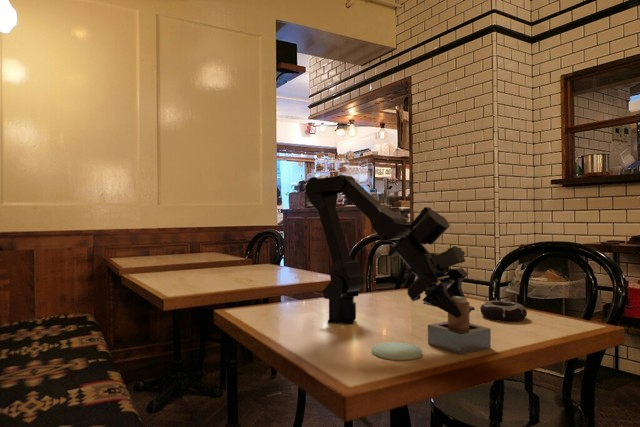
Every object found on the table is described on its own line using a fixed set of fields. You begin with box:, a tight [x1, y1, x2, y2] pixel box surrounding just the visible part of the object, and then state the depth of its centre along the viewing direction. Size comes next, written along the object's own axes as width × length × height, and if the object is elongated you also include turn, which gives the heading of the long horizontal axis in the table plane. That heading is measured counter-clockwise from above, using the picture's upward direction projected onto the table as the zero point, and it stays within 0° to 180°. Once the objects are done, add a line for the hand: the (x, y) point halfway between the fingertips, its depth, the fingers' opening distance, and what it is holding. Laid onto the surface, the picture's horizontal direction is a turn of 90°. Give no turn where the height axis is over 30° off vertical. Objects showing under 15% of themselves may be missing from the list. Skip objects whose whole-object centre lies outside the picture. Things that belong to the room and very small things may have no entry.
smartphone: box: [422, 301, 475, 311], centre depth 133 cm, size 7×1×15 cm
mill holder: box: [427, 320, 492, 355], centre depth 92 cm, size 9×9×4 cm
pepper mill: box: [447, 296, 471, 332], centre depth 92 cm, size 4×4×10 cm
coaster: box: [371, 341, 423, 361], centre depth 88 cm, size 10×10×1 cm
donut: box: [479, 300, 528, 323], centre depth 118 cm, size 12×12×4 cm
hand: (464, 314), depth 91 cm, fingers closed on pepper mill, 4 cm apart
